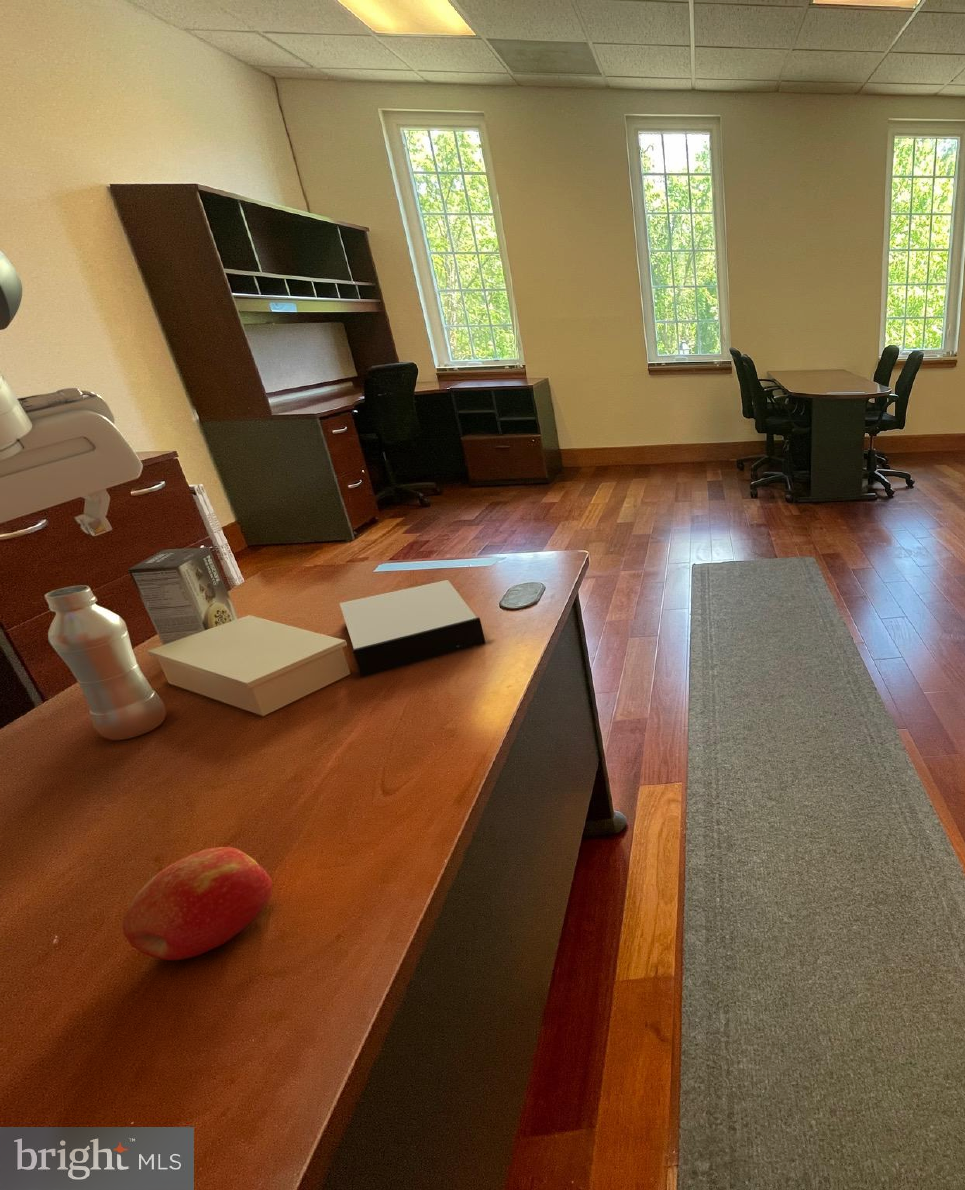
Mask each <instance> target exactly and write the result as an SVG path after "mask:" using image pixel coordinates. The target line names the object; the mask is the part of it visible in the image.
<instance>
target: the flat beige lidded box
mask: <svg viewBox="0 0 965 1190" xmlns="http://www.w3.org/2000/svg"><path fill="white" fill-rule="evenodd" d="M347 645H348V644H347V641H346V639H342V638H338V637H333V636H330V635H326V634H322V633H318V632H315V631H311V630H308V629H303V628H300V627H297V626H292V625H288V624H284V623H281V622H277V621H274V620H269V619H266V618H262V617H259V616H254V615H250V614H248V615H245V616H242V617H240V618H239V617H238V619H236V620H234V621H231V622H228V623H225V624H222V625H219V626H216V627H214V628H211V629H208V630H205V631H202V632H199V633H196V634H194V635H191V636H188V637H185V638H182V639H179V640H176V641H174V642H171V643H168V644H165V645H163V644H161V645H159V646H157V647H153V648H150V649H148V650H147V655H148V656H149V657H153V658H155V659H157V662H158V663H159V666H160V668H161V670H162V671H163V674H164V676H165V678H166V680H167V682H168V684H170V685H173V686H176V687H178V688H181V689H185V690H188V691H190V692H193V693H195V694H199V695H202V696H205V697H207V698H210V699H213V700H216V701H219V702H222V703H224V704H228V705H230V706H234V707H235V708H238V709H242V710H244V711H247V712H250V713H253V714H256V715H258V716H262V717H264V716H266V715H269V714H270V713H273V712H275V711H277V710H279V709H280V708H283V707H285V706H287V705H289V704H292V703H293V702H295V701H298V700H300V699H302V698H304V697H306V696H308V695H310V694H312V693H314V692H317V691H319V690H321V689H322V688H324V687H326V686H329V685H331V684H333V683H335V682H336V681H339V680H341V679H343V678H345V677H347V676H349V675H351V671H350V668H349V665H348V662H347V658H346V655H345V652H344V650H343V648H344V647H346V646H347Z"/></svg>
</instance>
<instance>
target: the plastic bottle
mask: <svg viewBox="0 0 965 1190" xmlns="http://www.w3.org/2000/svg"><path fill="white" fill-rule="evenodd" d="M44 599H45V600H46V602H47V604H48V609H49V610H50V611H51V612H53V613H55V615H54V617H53V619H52V620H51V623H50V625H49V629H48V632H47V636H48V637H47V640H48V643H49V644H50V646H52V648H53V649H54V651H55V652H56V653H57V654H58V656H59V657H60V659H62V661H63V662H64V663H65V664H66V665H67V667H68V668H69V669H70V671H71V674H72V675H73V676H74V678H75V679H76V681H77V682H78V684H79V686H80V687H81V691H82V693H83V695H84V698H85V701H86V703H87V706H88V709H89V716H90V721H91V723H92V727H93V729H94V730H95V731H96V732H97V734H98V735H99V736H101V737H103V738H104V739H107V740H110V741H123V740H128V739H134V738H136V737H139V736H142V735H144V734H147V733H149V732H151V731H153V730H155V729H156V728H158V727H160V726H161V725H162V724H163V723H164V721H165V719H166V716H167V711H166V706H165V702H164V701H163V700H162V698H161V697H160V695H159V694H158V693H157V692H156V691H155V690H154V689H153V688H152V686H151V685H150V683H149V681H148V679H147V677H145V675H144V673H143V671H142V670H141V668H140V665H139V663H138V662H137V657H136V655H135V653H134V650H133V646H132V643H131V638H130V634H129V631H128V627H127V623H126V621H125V620H124V618H122V617H121V616H120V615H119V614H117V613H115V612H113V611H111V610H110V609H108V608H106V607H103V606H100V605H98V604H96V603H97V602H98V598H97V596H95V595H94V593H93V591H92V589H91V587H90V585H85V584H84V585H83V584H80V585H72V586H66V587H62V588H58V589H55V590H51V591H49V592H47V593H45V594H44Z"/></svg>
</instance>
